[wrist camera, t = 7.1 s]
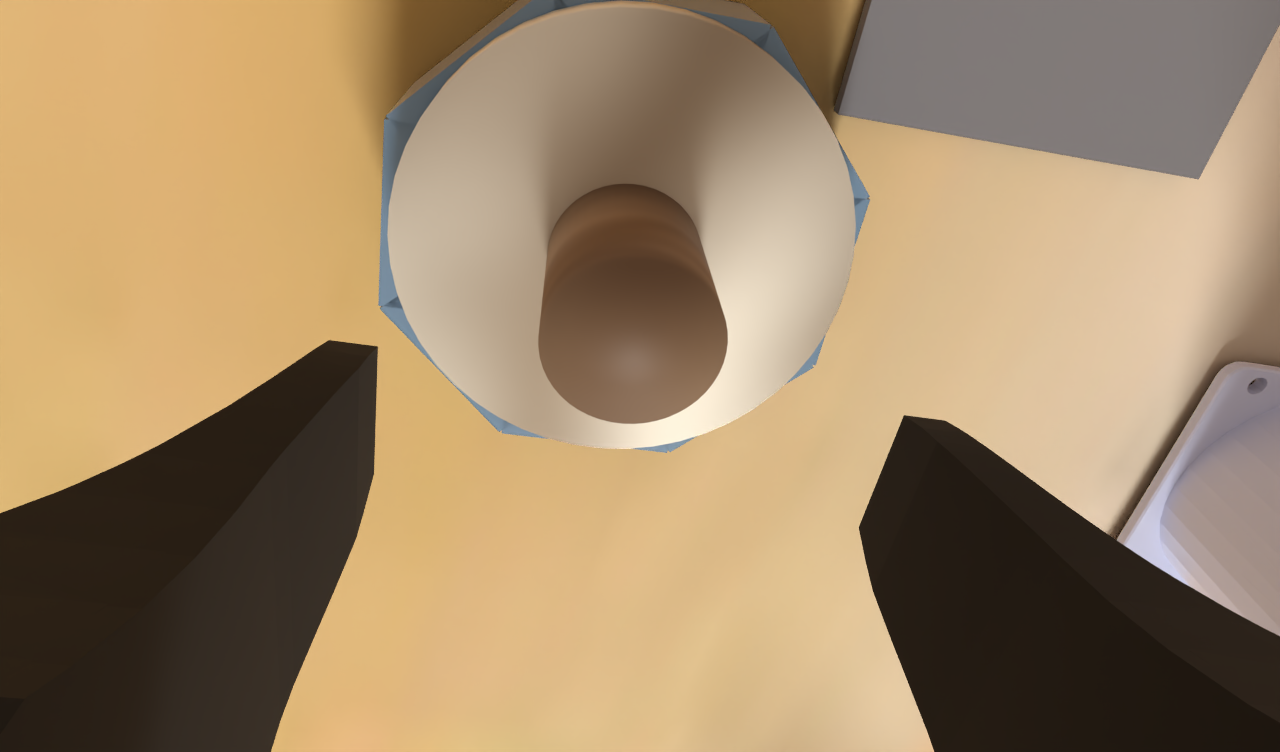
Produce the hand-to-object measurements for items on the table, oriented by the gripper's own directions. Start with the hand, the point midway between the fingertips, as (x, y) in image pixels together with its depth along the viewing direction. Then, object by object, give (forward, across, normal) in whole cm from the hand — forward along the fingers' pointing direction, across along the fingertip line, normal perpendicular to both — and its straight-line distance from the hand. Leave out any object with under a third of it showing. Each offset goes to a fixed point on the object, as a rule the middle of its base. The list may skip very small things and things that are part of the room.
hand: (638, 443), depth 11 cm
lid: (+7, 0, 0) cm, 7 cm away
